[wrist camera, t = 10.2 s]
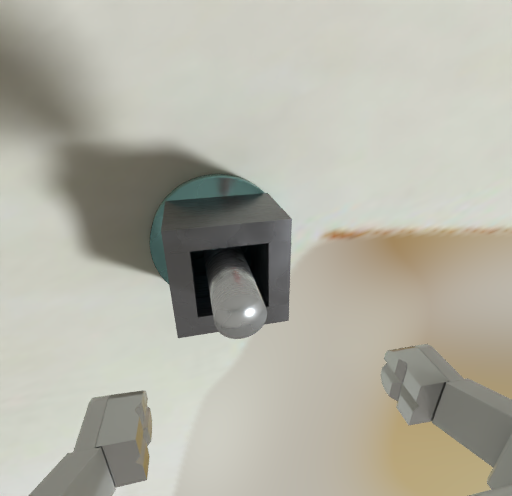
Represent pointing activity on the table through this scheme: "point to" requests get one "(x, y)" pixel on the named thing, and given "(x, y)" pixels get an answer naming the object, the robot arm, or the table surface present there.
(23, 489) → the table surface
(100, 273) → the table surface
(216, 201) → the hollow grey cube
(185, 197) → the teal mushroom knob
